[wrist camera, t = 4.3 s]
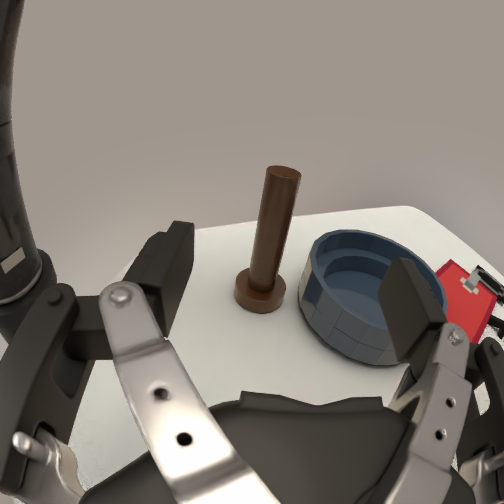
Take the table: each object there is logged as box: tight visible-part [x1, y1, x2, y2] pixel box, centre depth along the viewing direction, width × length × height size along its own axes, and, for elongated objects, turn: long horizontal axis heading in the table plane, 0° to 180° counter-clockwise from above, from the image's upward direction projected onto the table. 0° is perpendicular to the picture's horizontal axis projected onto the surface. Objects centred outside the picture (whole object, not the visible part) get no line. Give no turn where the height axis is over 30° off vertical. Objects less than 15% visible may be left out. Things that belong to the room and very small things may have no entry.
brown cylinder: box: [234, 166, 301, 313], centre depth 24 cm, size 5×5×13 cm
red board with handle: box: [435, 259, 504, 345], centre depth 29 cm, size 30×3×15 cm
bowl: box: [298, 229, 448, 365], centre depth 26 cm, size 15×15×5 cm
